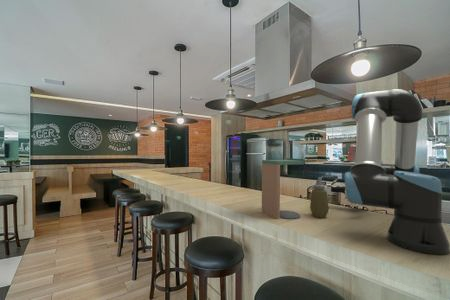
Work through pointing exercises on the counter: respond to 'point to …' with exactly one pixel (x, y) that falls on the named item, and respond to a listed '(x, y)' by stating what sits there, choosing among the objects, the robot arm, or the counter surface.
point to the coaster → (289, 214)
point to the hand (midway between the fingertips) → (332, 193)
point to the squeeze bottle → (319, 200)
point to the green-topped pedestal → (273, 185)
